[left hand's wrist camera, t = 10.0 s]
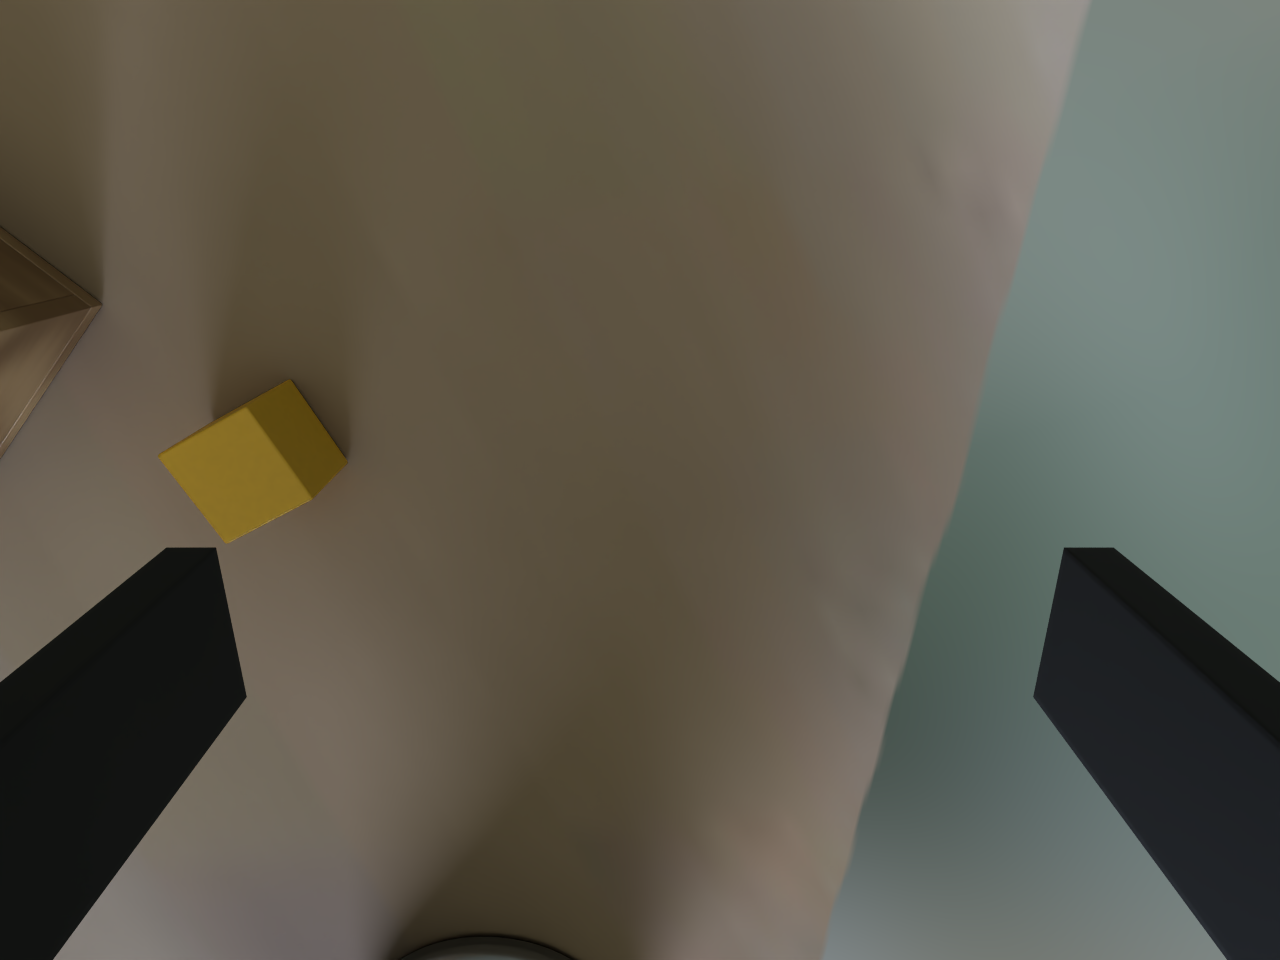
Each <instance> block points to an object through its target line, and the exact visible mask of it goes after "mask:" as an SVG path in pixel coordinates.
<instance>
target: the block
mask: <svg viewBox="0 0 1280 960" xmlns="http://www.w3.org/2000/svg"><path fill="white" fill-rule="evenodd" d="M158 458H159V459H160V460H161V461H162V463H163V464H164V465H165V467H166V468H167V469H168V470H169V472H170V473H171V474H172V475H173V477H174V478H175V479H176V481H177V482H178V483H179V484H180V486H181V487H182V488H183V490H184V491H185V492H186V493H187V495H188V496H189V497H190V499H191V500H192V501H193V502H194V504H195V505H196V506H197V508H198V509H199V510H200V511H201V513H202V514H203V515H204V516H205V518H206V519H207V520H208V522H209V523H210V524H211V525H212V527H213V528H214V529H215V531H216V532H217V533H218V534H219V536H220V537H221V538H222V540H223V541H224V542H225V543H230V542H232V541H234V540H236V539H238V538H239V537H241V536H243V535H245V534H247V533H249V532H251V531H253V530H255V529H257V528H259V527H261V526H262V525H264V524H266V523H268V522H270V521H272V520H274V519H276V518H278V517H280V516H282V515H284V514H285V513H287V512H289V511H291V510H293V509H295V508H297V507H299V506H301V505H303V504H305V503H307V502H308V501H310V500H312V499H313V498H314V497H315V496H316V495H317V494H318V493H319V492H320V491H321V490H322V489H323V488H324V487H325V486H326V485H327V484H328V483H329V482H330V481H331V480H332V478H333V477H334V476H335V475H336V474H337V473H338V472H339V471H340V470H341V469H342V468H343V467H344V466H345V465H346V464H347V463H348V462H347V460H346V458H345V457H344V456H343V454H342V453H341V451H340V450H339V448H338V447H337V445H336V444H335V443H334V441H333V440H332V438H331V437H330V435H329V434H328V432H327V431H326V430H325V428H324V427H323V425H322V424H321V422H320V421H319V419H318V418H317V417H316V415H315V414H314V412H313V411H312V409H311V408H310V406H309V405H308V404H307V402H306V401H305V399H304V398H303V396H302V395H301V394H300V392H299V391H298V389H297V388H296V386H295V385H294V383H293V382H292V381H291V380H287V381H285V382H283V383H281V384H279V385H278V386H276V387H274V388H272V389H270V390H269V391H267V392H265V393H263V394H261V395H260V396H258V397H256V398H254V399H252V400H251V401H249V402H247V403H245V404H244V405H242V406H240V407H238V408H236V409H235V410H233V411H231V412H229V413H227V414H226V415H224V416H222V417H220V418H218V419H217V420H215V421H213V422H211V423H209V424H208V425H206V426H205V427H203V428H201V429H200V430H198V431H196V432H195V433H193V434H191V435H190V436H188V437H186V438H185V439H183V440H182V441H180V442H178V443H177V444H175V445H173V446H172V447H170V448H168V449H167V450H165V451H163V452H162V453H160V454H159V455H158Z"/></svg>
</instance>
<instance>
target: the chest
mask: <svg viewBox="0 0 1280 960" xmlns="http://www.w3.org/2000/svg"><path fill="white" fill-rule="evenodd" d="M101 306H102V304H101V303H100V302H99V301H98V300H96V299H95V298H94V297H92V296H91V295H90V294H88V293H87V292H86V291H84V290H83V289H82V288H80V287H79V286H78V285H76V284H75V283H74V282H72V281H71V280H70V279H68V278H67V277H66V276H65V275H63V274H62V273H61V272H59V271H58V270H57V269H55V268H54V267H53V266H51V265H50V264H49V263H47V262H46V261H45V260H43V259H42V258H41V257H39V256H38V255H37V254H35V253H34V252H33V251H31V250H30V249H29V248H27V247H26V246H25V245H24V244H22V243H21V242H20V241H18V240H17V239H16V238H14V237H13V236H12V235H10V234H9V233H8V232H6V231H5V230H4V229H2V228H1V227H0V458H1V457H2V455H3V454H4V452H5V451H6V449H7V448H8V446H9V445H10V443H11V442H12V440H13V439H14V437H15V436H16V434H17V433H18V431H19V430H20V428H21V427H22V425H23V424H24V422H25V421H26V419H27V418H28V416H29V415H30V413H31V412H32V410H33V409H34V407H35V406H36V404H37V403H38V401H39V400H40V398H41V397H42V395H43V394H44V392H45V391H46V389H47V388H48V386H49V385H50V383H51V381H52V380H53V378H54V377H55V375H56V374H57V372H58V371H59V369H60V368H61V366H62V365H63V363H64V362H65V360H66V359H67V357H68V356H69V354H70V353H71V351H72V350H73V348H74V347H75V345H76V344H77V342H78V341H79V339H80V338H81V336H82V335H83V333H84V332H85V330H86V329H87V327H88V326H89V324H90V323H91V321H92V320H93V318H94V317H95V315H96V314H97V312H98V311H99V309H100V308H101Z"/></svg>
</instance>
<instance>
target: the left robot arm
mask: <svg viewBox="0 0 1280 960" xmlns="http://www.w3.org/2000/svg"><path fill="white" fill-rule="evenodd" d="M246 697H247V696H246V691H245V686H244V682H243V677H242V672H241V667H240V662H239V657H238V652H237V648H236V643H235V638H234V633H233V628H232V623H231V618H230V614H229V609H228V604H227V599H226V594H225V589H224V584H223V579H222V575H221V570H220V565H219V560H218V555H217V550H216V548H165V549H164V550H163V551H162V552H160V553H159V554H158V555H157V556H156V557H154V558H153V559H152V560H151V561H149V562H148V563H147V564H146V565H144V566H143V567H142V568H141V569H140V570H138V571H137V572H136V573H135V574H133V575H132V576H131V577H130V578H128V579H127V580H126V581H125V582H124V583H122V584H121V585H120V586H119V587H117V588H116V589H115V590H114V591H112V592H111V593H110V594H109V595H107V596H106V597H105V598H104V599H103V600H101V601H100V602H99V603H98V604H96V605H95V606H94V607H93V608H91V609H90V610H89V611H88V612H87V613H85V614H84V615H83V616H82V617H80V618H79V619H78V620H77V621H75V622H74V623H73V624H72V625H70V626H69V627H68V628H67V629H66V630H64V631H63V632H62V633H61V634H59V635H58V636H57V637H56V638H54V639H53V640H52V641H51V642H50V643H48V644H47V645H46V646H45V647H43V648H42V649H41V650H40V651H38V652H37V653H36V654H35V655H33V656H32V657H31V658H30V659H29V660H27V661H26V662H25V663H24V664H22V665H21V666H20V667H19V668H17V669H16V670H15V671H14V672H13V673H11V674H10V675H9V676H8V677H6V678H5V679H4V680H3V681H1V682H0V960H53V959H54V957H55V956H56V955H57V953H58V952H59V951H60V949H61V948H62V947H63V945H64V944H65V943H66V941H67V940H68V938H69V937H70V936H71V934H72V933H73V932H74V930H75V929H76V928H77V926H78V925H79V924H80V922H81V921H82V920H83V918H84V917H85V915H86V914H87V913H88V911H89V910H90V909H91V907H92V906H93V905H94V903H95V902H96V901H97V899H98V898H99V896H100V895H101V894H102V892H103V891H104V890H105V888H106V887H107V886H108V884H109V883H110V882H111V880H112V879H113V877H114V876H115V875H116V873H117V872H118V871H119V869H120V868H121V867H122V865H123V864H124V863H125V861H126V860H127V859H128V857H129V856H130V854H131V853H132V852H133V850H134V849H135V848H136V846H137V845H138V844H139V842H140V841H141V840H142V838H143V837H144V835H145V834H146V833H147V831H148V830H149V829H150V827H151V826H152V825H153V823H154V822H155V821H156V819H157V818H158V816H159V815H160V814H161V812H162V811H163V810H164V808H165V807H166V806H167V804H168V803H169V802H170V800H171V799H172V797H173V796H174V795H175V793H176V792H177V791H178V789H179V788H180V787H181V785H182V784H183V783H184V781H185V780H186V779H187V777H188V776H189V774H190V773H191V772H192V770H193V769H194V768H195V766H196V765H197V764H198V762H199V761H200V760H201V758H202V757H203V755H204V754H205V753H206V751H207V750H208V749H209V747H210V746H211V745H212V743H213V742H214V741H215V739H216V738H217V736H218V735H219V734H220V732H221V731H222V730H223V728H224V727H225V726H226V724H227V723H228V722H229V720H230V719H231V718H232V716H233V715H234V713H235V712H236V711H237V709H238V708H239V707H240V705H241V704H242V703H243V701H244V700H245V699H246ZM1033 697H1034V699H1035V700H1036V701H1037V703H1038V704H1039V705H1040V707H1041V708H1042V709H1043V711H1044V712H1045V713H1046V715H1047V716H1048V717H1049V719H1050V720H1051V722H1052V723H1053V724H1054V726H1055V727H1056V728H1057V730H1058V731H1059V732H1060V734H1061V735H1062V736H1063V738H1064V739H1065V741H1066V742H1067V743H1068V745H1069V746H1070V747H1071V749H1072V750H1073V751H1074V753H1075V754H1076V755H1077V757H1078V758H1079V759H1080V761H1081V762H1082V764H1083V765H1084V766H1085V768H1086V769H1087V770H1088V772H1089V773H1090V774H1091V776H1092V777H1093V779H1094V780H1095V781H1096V783H1097V784H1098V785H1099V787H1100V788H1101V789H1102V791H1103V792H1104V793H1105V795H1106V796H1107V798H1108V799H1109V800H1110V802H1111V803H1112V804H1113V806H1114V807H1115V808H1116V810H1117V811H1118V812H1119V814H1120V815H1121V816H1122V818H1123V819H1124V821H1125V822H1126V823H1127V825H1128V826H1129V827H1130V829H1131V830H1132V831H1133V833H1134V834H1135V835H1136V837H1137V838H1138V840H1139V841H1140V842H1141V844H1142V845H1143V846H1144V848H1145V849H1146V850H1147V852H1148V853H1149V854H1150V856H1151V857H1152V858H1153V860H1154V861H1155V863H1156V864H1157V865H1158V867H1159V868H1160V869H1161V871H1162V872H1163V873H1164V875H1165V876H1166V877H1167V879H1168V880H1169V882H1170V883H1171V884H1172V886H1173V887H1174V888H1175V890H1176V891H1177V892H1178V894H1179V895H1180V896H1181V898H1182V899H1183V901H1184V902H1185V903H1186V905H1187V906H1188V907H1189V909H1190V910H1191V911H1192V913H1193V914H1194V915H1195V917H1196V918H1197V920H1198V921H1199V922H1200V924H1201V925H1202V926H1203V928H1204V929H1205V930H1206V932H1207V933H1208V934H1209V936H1210V937H1211V938H1212V940H1213V941H1214V943H1215V944H1216V945H1217V947H1218V948H1219V949H1220V951H1221V952H1222V953H1223V955H1224V956H1225V957H1226V959H1227V960H1280V682H1279V681H1277V680H1276V679H1275V678H1274V677H1272V676H1271V675H1270V674H1269V673H1267V672H1266V671H1265V670H1264V669H1263V668H1261V667H1260V666H1259V665H1258V664H1256V663H1255V662H1254V661H1253V660H1251V659H1250V658H1249V657H1248V656H1247V655H1245V654H1244V653H1243V652H1242V651H1240V650H1239V649H1238V648H1237V647H1235V646H1234V645H1233V644H1232V643H1230V642H1229V641H1228V640H1227V639H1226V638H1224V637H1223V636H1222V635H1221V634H1219V633H1218V632H1217V631H1216V630H1214V629H1213V628H1212V627H1211V626H1210V625H1208V624H1207V623H1206V622H1205V621H1203V620H1202V619H1201V618H1200V617H1198V616H1197V615H1196V614H1195V613H1193V612H1192V611H1191V610H1190V609H1189V608H1187V607H1186V606H1185V605H1184V604H1182V603H1181V602H1180V601H1179V600H1177V599H1176V598H1175V597H1174V596H1173V595H1171V594H1170V593H1169V592H1168V591H1166V590H1165V589H1164V588H1163V587H1161V586H1160V585H1159V584H1158V583H1156V582H1155V581H1154V580H1153V579H1152V578H1150V577H1149V576H1148V575H1147V574H1145V573H1144V572H1143V571H1142V570H1140V569H1139V568H1138V567H1137V566H1135V565H1134V564H1133V563H1132V562H1130V561H1129V560H1128V559H1127V558H1126V557H1124V556H1123V555H1122V554H1121V553H1119V552H1118V551H1117V550H1116V549H1115V548H1064V550H1063V555H1062V560H1061V565H1060V570H1059V575H1058V579H1057V584H1056V589H1055V594H1054V599H1053V604H1052V609H1051V614H1050V618H1049V623H1048V628H1047V633H1046V638H1045V643H1044V648H1043V652H1042V657H1041V662H1040V667H1039V672H1038V677H1037V682H1036V686H1035V691H1034V696H1033ZM401 960H571V959H569V958H567V957H566V956H564V955H562V954H560V953H558V952H555V951H553V950H551V949H548V948H545V947H543V946H540V945H536V944H533V943H529V942H525V941H520V940H515V939H509V938H501V937H468V938H459V939H453V940H447V941H443V942H439V943H435V944H432V945H429V946H426V947H424V948H422V949H419V950H417V951H415V952H413V953H411V954H409V955H407V956H405V957H404V958H402V959H401Z"/></svg>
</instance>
